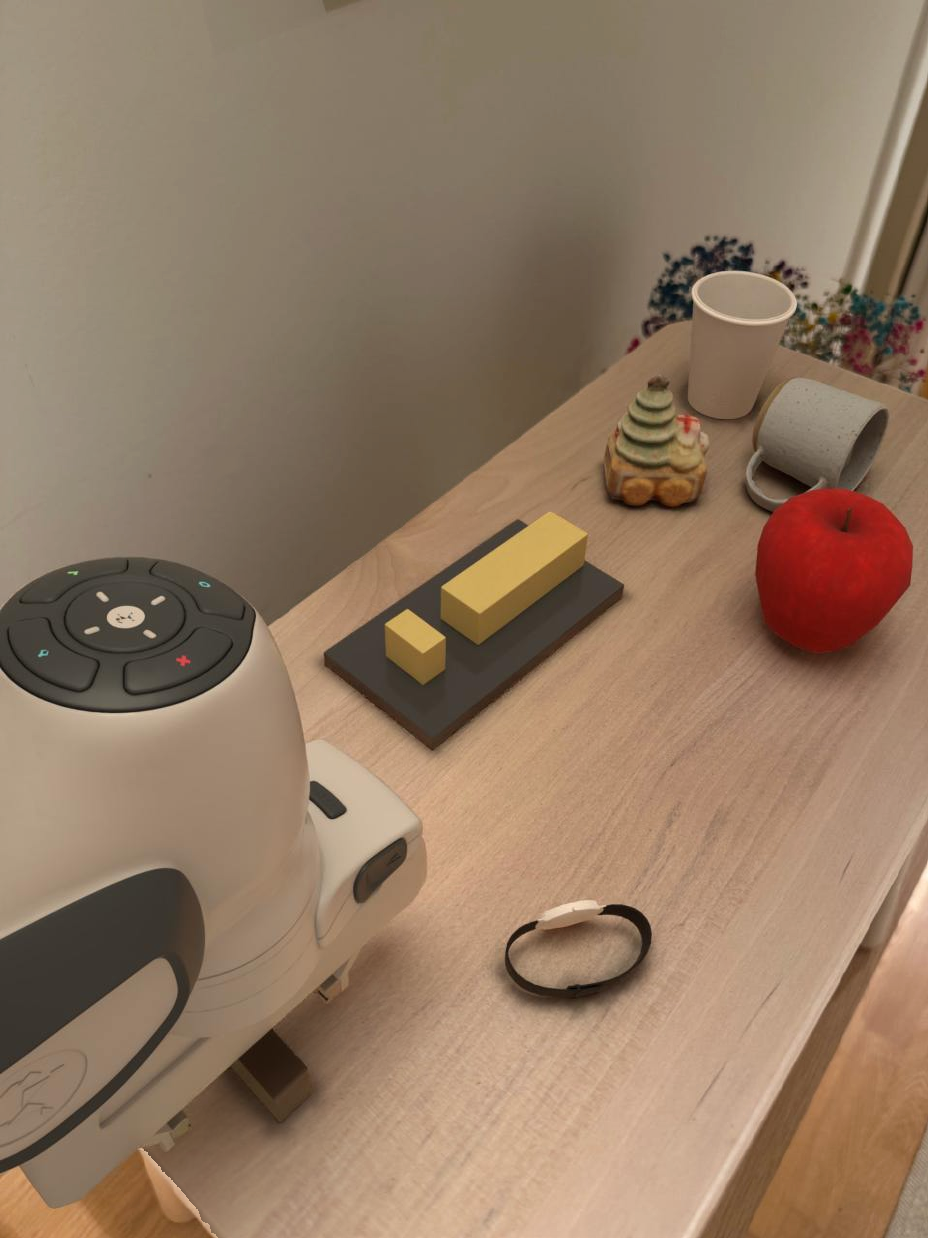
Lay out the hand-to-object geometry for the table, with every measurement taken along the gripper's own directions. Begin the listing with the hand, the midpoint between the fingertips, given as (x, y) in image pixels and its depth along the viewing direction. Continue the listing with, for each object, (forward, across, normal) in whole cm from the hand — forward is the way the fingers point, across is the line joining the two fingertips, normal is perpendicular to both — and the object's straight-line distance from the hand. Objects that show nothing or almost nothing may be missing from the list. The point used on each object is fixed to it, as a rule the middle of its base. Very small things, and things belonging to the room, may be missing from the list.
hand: (252, 1054), depth 50 cm
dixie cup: (+2, +64, +16) cm, 66 cm away
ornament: (+2, +50, +13) cm, 52 cm away
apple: (+2, +45, -4) cm, 45 cm away
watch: (+2, +15, -8) cm, 17 cm away
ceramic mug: (+2, +59, +5) cm, 59 cm away
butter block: (0, +32, +12) cm, 35 cm away
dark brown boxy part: (+1, 0, +3) cm, 3 cm away
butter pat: (0, +23, +12) cm, 26 cm away
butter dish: (+1, +29, +12) cm, 32 cm away
